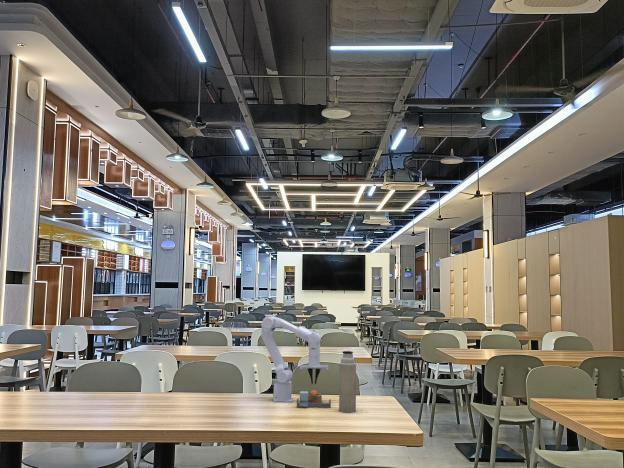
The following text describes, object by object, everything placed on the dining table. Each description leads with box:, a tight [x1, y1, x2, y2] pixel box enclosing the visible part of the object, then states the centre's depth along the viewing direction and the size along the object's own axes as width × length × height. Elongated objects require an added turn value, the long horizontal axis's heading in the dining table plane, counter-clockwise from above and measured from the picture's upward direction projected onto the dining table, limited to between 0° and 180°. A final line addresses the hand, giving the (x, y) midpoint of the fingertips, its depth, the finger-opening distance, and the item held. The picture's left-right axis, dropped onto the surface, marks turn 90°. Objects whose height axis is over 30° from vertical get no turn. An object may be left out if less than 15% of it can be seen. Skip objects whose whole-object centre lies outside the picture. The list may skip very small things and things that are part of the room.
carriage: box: [299, 390, 309, 406], centre depth 276 cm, size 4×5×6 cm
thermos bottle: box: [338, 350, 357, 414], centre depth 269 cm, size 8×8×28 cm
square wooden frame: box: [308, 392, 323, 402], centre depth 287 cm, size 8×8×4 cm
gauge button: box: [310, 389, 318, 395], centre depth 287 cm, size 3×3×4 cm
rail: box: [296, 398, 332, 409], centre depth 276 cm, size 17×3×4 cm, turn 90°
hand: (313, 383), depth 287 cm, fingers closed
